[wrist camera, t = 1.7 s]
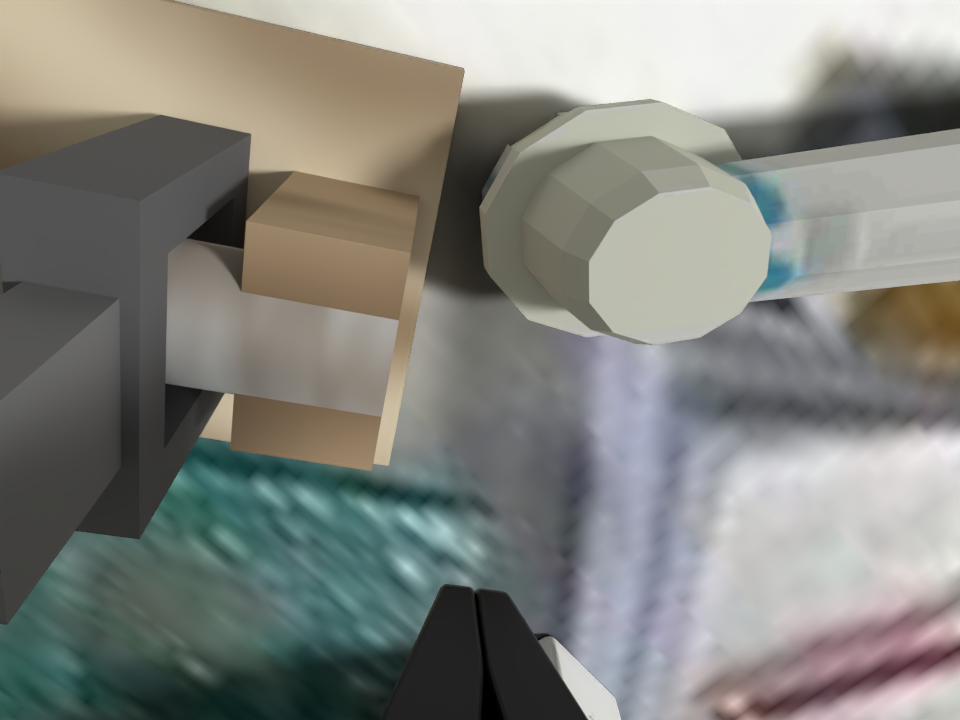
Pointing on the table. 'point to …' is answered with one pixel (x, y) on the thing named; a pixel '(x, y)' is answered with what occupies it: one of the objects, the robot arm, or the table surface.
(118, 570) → the table surface
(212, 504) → the table surface
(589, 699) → the ink cartridge box
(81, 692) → the table surface
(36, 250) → the collar
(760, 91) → the table surface
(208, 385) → the pipe stand
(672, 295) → the grey piece
